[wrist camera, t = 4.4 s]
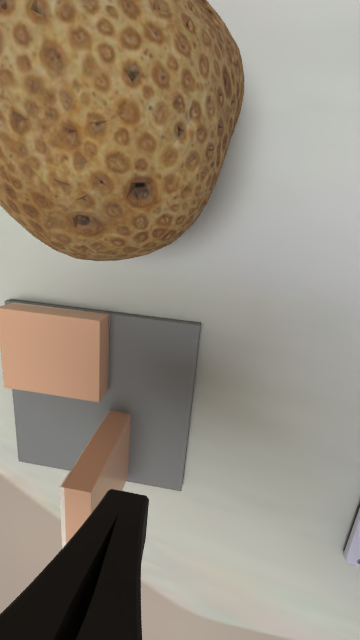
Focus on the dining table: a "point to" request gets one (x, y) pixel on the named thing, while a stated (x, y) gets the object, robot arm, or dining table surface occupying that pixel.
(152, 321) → the mat
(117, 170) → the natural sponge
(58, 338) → the tile
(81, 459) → the tile
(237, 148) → the dining table surface
